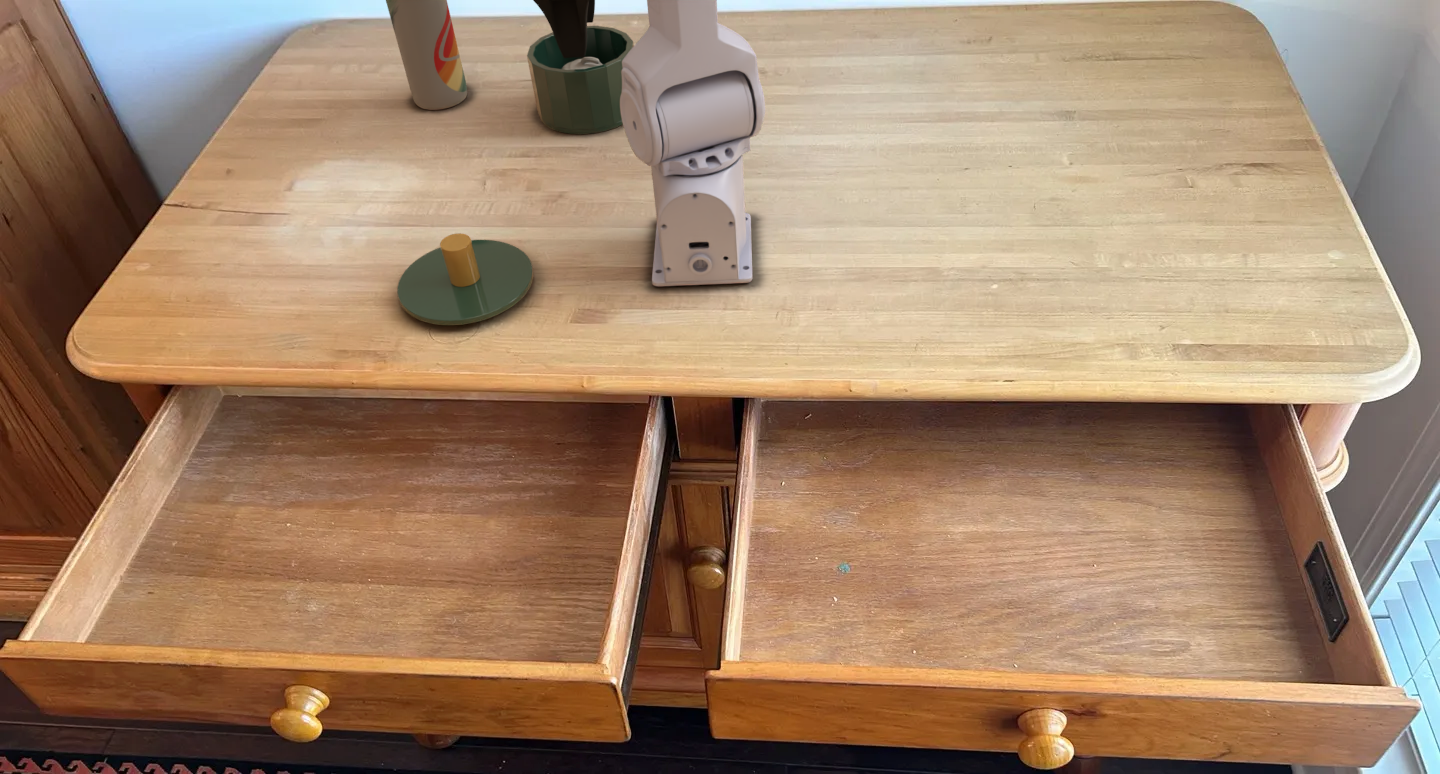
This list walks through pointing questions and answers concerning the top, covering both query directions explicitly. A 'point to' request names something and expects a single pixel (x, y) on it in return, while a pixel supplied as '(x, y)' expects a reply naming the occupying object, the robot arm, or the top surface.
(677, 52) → the robot arm
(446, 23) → the spray bottle
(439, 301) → the lid
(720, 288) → the top surface
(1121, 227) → the top surface
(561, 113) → the pot
